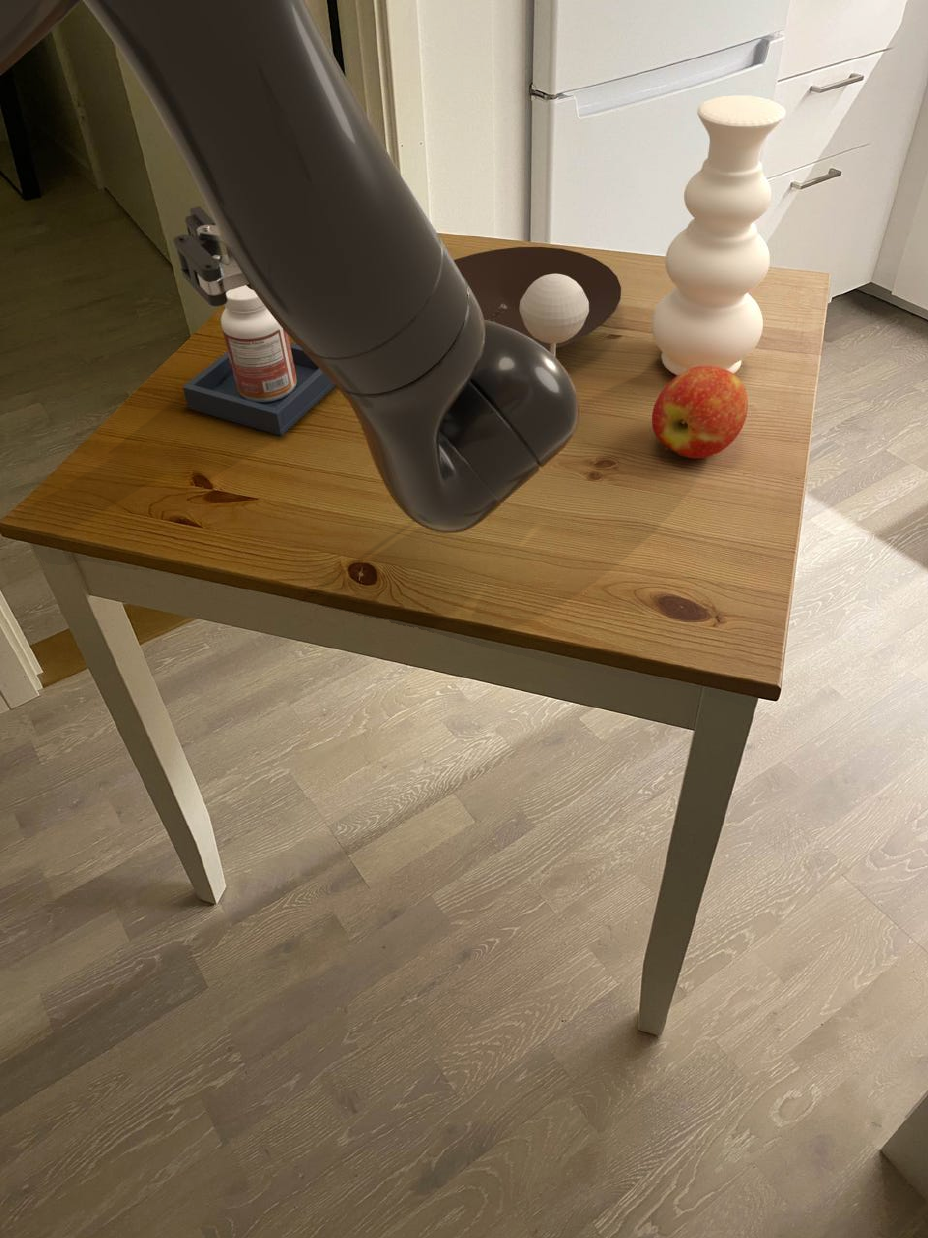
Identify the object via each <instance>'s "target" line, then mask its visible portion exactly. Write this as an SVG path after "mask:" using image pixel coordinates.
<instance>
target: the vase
mask: <svg viewBox="0 0 928 1238" xmlns="http://www.w3.org/2000/svg"><path fill="white" fill-rule="evenodd" d="M696 113H697V116H698V118H699V120H700V122H701V124H702V125H703V127H704V128H705V130H706V132H707V135H708V137H709V145H708V151H707V152H708V153H707V158H705V159H704V161H703V163H702V166H701V169H700V170H699V171H697V172H696V173H695V174H694V175H693V176H692V177H691V178H690V179H689V181H688V182H687V184H686V186H685V188H684V193H683V199H684V204H685V205H684V206H686V210H687V211H688V212H689V214H690V215H691V216H692V217H693V219H692V220H690V221H689V223H688V225H687V227H686V228H684V229H683V230H682V231H680V232H679V233H678V234H677V235H676V236H675V237H673V239H672V240H671V242H670V244H669V245H668V248H667V249H666V253H665V259H664V263H665V269H666V273H667V275H668V277H669V279H670V280H671V282H672V283H673V284H674V286H676V287H675V288H673V289H672V290H671V291H669V292H668V293H666V294H665V295H664V297H663V298H661V300H660V301H659V302H658V303H657V306H656V308H655V309H654V312H653V315H652V319H651V333H652V337H653V339H654V342H655V344H656V346H657V347H658V349H659V350H660V351H661V362H662V365H664V367H665V368H666V369H667V371H669V372H670V373H672V374H674V375H675V376H678V375H679V374H681V373H682V372H684V371H686V370H689V369H691V368H694V367H699V366H714V367H720V368H723V369H726V370H728V371H730V372H732V373H733V374H734V375H735V373H737V371H738V370H739V369H740V368H741V367H742V366H741V365H742V361H743V360H744V359H745V358H746V357H748V356H749V355H750V354H751V353H752V352H753V351H754V349H755V348H756V346H757V345H758V343H759V341H760V339H761V337H762V333H763V329H764V328H763V327H764V319H763V314H762V312H761V309H760V307H759V305H758V303H757V302H756V300H755V299H754V298H753V297H752V296H751V294H749V293H750V292H751V291H753V290H754V289H756V288H757V287H758V286H759V285H760V284H761V283H762V282H763V281H764V279H765V277H766V275H767V274H768V272H769V268H770V264H771V253H770V250H769V247H768V245H767V243H766V242H765V240H764V238H763V237H762V236H761V235H760V234H759V233H758V229H757V226H756V224H755V223H754V222H755V221H756V220H758V219H759V218H760V217H762V216H763V215H764V214H765V213H766V212H767V209H768V208H769V207H770V204H771V201H772V195H773V194H772V187H771V184H770V182H769V180H768V178H767V177H766V176H765V174H763V164H762V163H761V161H760V158H761V153H762V148H763V144H764V141H765V139H766V138H767V137H768V135H769V134H770V133H771V132H772V131H773V130H775V129H776V127H777V126H778V125H779V124H781V122H782V121H783V120H784V118H785V116H786V109H785V107H784V106H782V105H781V104H779V103H778V102H776V101H774V100H772V99H768V98H765V97H761V96H755V95H746V94H745V95H744V94H734V95H730V94H729V95H723V96H717V97H712V98H710V99H707V100H706V101H703V102H702V103H701V104H699V105H698V107H697V110H696Z"/></svg>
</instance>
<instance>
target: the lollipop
mask: <svg viewBox="0 0 928 1238" xmlns="http://www.w3.org/2000/svg"><path fill="white" fill-rule="evenodd" d="M588 312H589V302H588V299H587V297H586V295H585V293H584V291H583V290H582V288H581V287H580V285H579V284H578V283H577V282H576V281H575V280H573V279H572V278H570V277H568V276H566V275H561V274H549V275H545V276H542V277H540V278H539V279H537V280H536V281H534V282H533V283H532V284H531V285H530V286H529V287H528V289H527V291H526V292H525V294H524V295H523V297H522V299H521V301H520V313H521V316H522V319H523V322H524V325H525V327H526V328H527V330H528V331H529V333H530V334H531V335H533V336H534V337H535V338H537V339H538V340H540V341H542V342H546V343H551V347H550V351H549V352H550V353H551V354H552V355H553V356H554V357H555V358H556V348H555V347H556V343H561V342H564V341H566V340H568V339H570V338H572V337H573V336H574V335H576V334H577V333H578V332H579V330H580V329H581V327H582V326H583V324H584V321H585V319H586V317H587V315H588Z"/></svg>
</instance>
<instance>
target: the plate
mask: <svg viewBox="0 0 928 1238" xmlns="http://www.w3.org/2000/svg"><path fill="white" fill-rule="evenodd" d="M453 260H454V262H455V264H456V265H457V267H458V269H459V270H460V272H461V274H462V275H463V277H464V279H465V280H466V282H467V284H468V285H469V287H470V289H471V290H472V292H473V294H474V296H475V298H476V300H477V301H478V304H479V306H480V309H481V311H482V314H483V318H484V320H488V321H491V322H495V323H497V324H500V325H503V326H506V327H508V328H511V329H513V330H516V331H518V332H520V333H522V334H524V335H525V336H527V337H529V338H531V339H533V340H534V341H535V342H537V343H538V344H540V345H541V346H543V347H544V348H545V349H547V350H548V351H549V352H550V347H551V343H546V342H542V341H540V340H538V339H537V338H535V337H534V336H533V335H531V334H530V333H529V331H528V330H527V328H526V327H525V325H524V322H523V319H522V316H521V313H520V301H521V299H522V297H523V295H524V294H525V292H526V291H527V289H528V287H529V286H530V285H531V284H532V283H533V282H534V281H536V280H537V279H539V278H540V277H542V276H545V275H549V274H561V275H566V276H568V277H570V278H572V279H573V280H575V281H576V282H577V283H578V284H579V285H580V287H581V288H582V290H583V291H584V293H585V295H586V297H587V299H588V302H589V312H588V315H587V317H586V319H585V321H584V324H583V326H582V327H581V329H580V330H579V332H578V333H577V334H576V335H574V336H573V337H572V338H570V339H568V340H566V341H564V342H561V343H556V347H555V349H559V348H561V347H564V346H567V345H570V344H572V343H573V342H575V341H577V340H579V339H582V338H584V337H586V336H587V335H589V334H590V333H592V332H593V331H595V330H597V329H598V328H599V327H601V326H602V325H603V324H604V323H606V321H608V319H609V318H611V316H612V315H613V314H614V313H615V311H616V309H617V308H618V305H619V303H620V302H621V297H622V286H621V283H620V280H619V278H618V276H617V275H616V273H615V272H614V271H613V270H612V269H611V268H610V267H609V266H608V265H606V264H604V263H603V262H602V261H600V260H598V259H597V258H595V257H592V256H590V255H587V254H584V253H581V252H579V251H574V250H570V249H565V248H559V247H547V246H516V247H506V248H505V247H504V248H498V249H492V250H491V249H490V250H487V251H482V252H477V253H473V254H470V255H465V256H463V257H459V258H455V259H453Z"/></svg>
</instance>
